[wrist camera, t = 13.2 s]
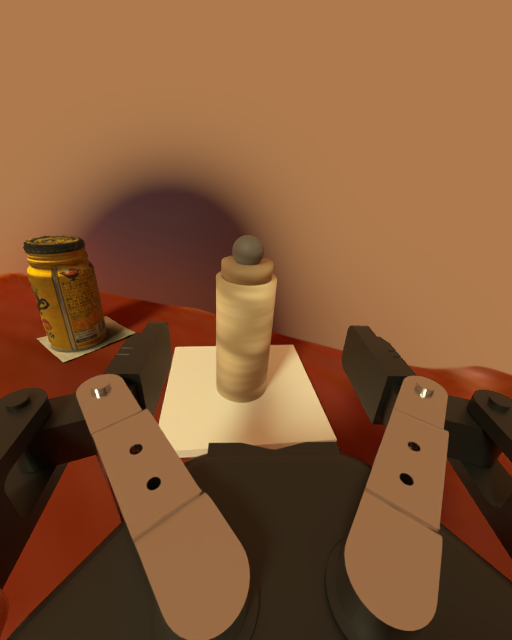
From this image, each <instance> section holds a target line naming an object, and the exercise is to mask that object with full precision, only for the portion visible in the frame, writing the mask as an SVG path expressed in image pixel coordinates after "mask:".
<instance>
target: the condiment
mask: <svg viewBox="0 0 512 640" xmlns="http://www.w3.org/2000/svg"><path fill="white" fill-rule="evenodd" d="M23 248H24V250H25V252H26V254H27V261H28V262H29V263H30V266H29V267H28V269H27V273H28V277H29V278H28V279H29V281H30V283H31V287H32V290H33V293H34V296H35V299H36V302H37V307H38V310H39V312H40V315H41V318H42V321H43V325H44V328H45V330H46V334H47V336H45V337H41V338H37V339H38V340H39V341H40V342H41V343H42V344H43V345H44V346H45V347H46V348H47V349H48V350H49V351H51V352H52V353H53V354H54V355H55V356H56V357H58V358H59V359H60V360H61V361H62V362H66V361H68V360H71V359H74V358H76V357H79V356H82V355H84V354H86V353H90V352H92V351H94V350H96V349H99V348H101V347H103V346H106V345H107V344H109V343H113V342H115V341H117V340H121V339H123V338H125V337H127V336H128V335H132V334H134V333H135V332H134V331H131V330H129V329H127V328H126V327H123V326H122V325H120V324H118V323H117V322H115V321H114V320H112V319H111V318H109V317H107V316H105V317H104V315H103V310H102V305H101V300H100V296H99V291H98V286H97V281H96V276H95V271H94V267H93V265H92V264H91V262H90V261H89V260H88V259H87V257H88V254H87V252H86V251H85V243H84V241H83V240H82V239H81V238H79V237H74V236H43V237H37V238H32V239H29V240H26V242H24V247H23ZM107 340H108V341H107Z"/></svg>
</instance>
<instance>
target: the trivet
mask: <svg viewBox="0 0 512 640" xmlns="http://www.w3.org/2000/svg"><path fill="white" fill-rule="evenodd" d="M159 427H160V428H161V430H162V431H163V433H164V434H165V436H166V438H167V439H168V441H169V442H170V444H171V445H172V447H173V448H174V450H175V451H176V453H177V454H178V456H179V458H184V457H197V456H200V455H203V454H207V453H208V445H209V443H245V444H250V445H254V446H259V447H263V448H268V449H280V448H284V447H288V446H292V445H296V444H300V443H304V442H336V440H337V439H336V437H335V434H334V432H333V430H332V428H331V426H330V424H329V421H328V419H327V417H326V415H325V413H324V411H323V408H322V406H321V404H320V402H319V400H318V398H317V395H316V393H315V391H314V389H313V387H312V385H311V382H310V380H309V378H308V376H307V374H306V372H305V369H304V367H303V365H302V363H301V361H300V359H299V356H298V354H297V352H296V350H295V348H294V345H270V352H269V362H268V372H267V382H266V390H265V392H264V394H263V395H262V396H261V397H260V398H258V399H257V400H254V401H251V402H246V403H237V402H232V401H229V400H227V399H225V398H223V397H222V396H221V395H220V394H219V393H218V391H217V387H216V346H204V347H175V352H174V357H173V361H172V366H171V370H170V375H169V380H168V384H167V389H166V394H165V398H164V403H163V407H162V412H161V417H160V421H159Z"/></svg>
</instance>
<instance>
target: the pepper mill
mask: <svg viewBox="0 0 512 640" xmlns="http://www.w3.org/2000/svg"><path fill="white" fill-rule="evenodd" d="M232 253H233V256H229V257H226V258H223V259H222V271H220V272H219V273H218V274H217V275H216V387H217V391H218V393H219V394H220V395H221V396H222V397H223V398H225V399H227V400H229V401H232V402H237V403H246V402H251V401H254V400H257V399H258V398H260V397H261V396H262V395H263V394H264V392H265V390H266V382H267V372H268V362H269V352H270V343H271V333H272V323H273V313H274V304H275V294H276V284H277V277H276V276H275V275H273V274H272V273H273V262H272V261H270V260H268V259H266V258H263V255H264V248H263V245H262V243H261V242H260V240H259V239H257V238H256V237H254V236H251V235H245V236H242V237H240V238H239V239H238V240H237V241H236V242H235V243H234V245H233V250H232Z"/></svg>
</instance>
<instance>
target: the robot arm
mask: <svg viewBox="0 0 512 640" xmlns="http://www.w3.org/2000/svg"><path fill="white" fill-rule="evenodd" d="M171 360H172V352H171V344H170V335H169V327H168V323H167V322H148V324H147V325H146V327H145V329H144V330H143V332H142V333H135V334H134V335H132V336H131V337H129V338H128V339H126V341H125V342H124V344H123V345H122V347H121V349H120V350H119V351H118V352H117V355H115V357H114V358H113V360H112V361H111V363H110V364H109V366H108V367H107V369H106V370H105V372H104V373H103V375H99V376H96V377H93V378H91V379H89V380H87V381H85V382H84V383H83V384H81V386H80V387H79V388H78V389H77V392H76V393H75V394H71V395H66V396H61V397H56V398H51V399H48V396H47V394H46V392H45V391H44V390H42V389H39V388H27V389H22V390H18V391H16V392H13V393H10V394H8V395H6V396H4V397H3V398H1V399H0V637H1V633H2V631H3V628H4V625H5V622H6V620H7V616H8V611H9V602H8V598H7V596H6V594H5V593H4V592H3V591H2V589H3V587H4V585H5V583H6V581H7V579H8V577H9V575H10V573H11V571H12V570H13V568H14V566H15V564H16V562H17V560H18V558H19V556H20V554H21V552H22V550H23V548H24V547H25V545H26V543H27V541H28V539H29V537H30V535H31V533H32V531H33V529H34V527H35V525H36V524H37V522H38V520H39V518H40V516H41V514H42V512H43V510H44V508H45V506H46V504H47V502H48V501H49V499H50V497H51V495H52V493H53V491H54V489H55V487H56V485H57V483H58V481H59V479H60V478H61V476H62V474H63V472H64V470H65V468H66V466H67V464H68V462H71V461H75V460H78V459H82V458H86V457H89V456H93V455H96V456H97V459H98V461H99V464H100V467H101V469H102V472H103V475H104V477H105V480H106V483H107V485H108V488H109V491H110V493H111V496H112V499H113V502H114V504H115V507H116V510H117V513H118V516H119V519H120V521H121V523H120V524H119V525H118V526H117V527H116V528H115V529H114V530H113V531H112V532H111V533H110V534H109V535H108V536H107V537H106V538H105V539H104V540H103V541H102V542H101V543H100V544H99V545H98V546H97V547H96V548H95V549H94V550H93V551H92V552H91V553H90V554H89V555H88V556H87V557H86V558H85V559H84V560H83V561H82V562H81V563H80V564H79V565H78V566H77V567H76V568H75V569H74V570H73V571H72V572H71V573H70V574H69V575H68V576H67V577H66V578H65V579H64V580H63V581H62V582H61V583H60V584H59V585H58V586H57V587H56V588H55V589H54V590H53V591H52V592H51V593H50V594H49V595H48V596H47V597H46V598H45V599H44V600H43V601H42V602H41V603H40V604H39V605H38V606H37V607H36V608H35V609H34V610H33V611H32V612H31V613H30V614H29V615H28V616H27V617H26V618H25V619H24V620H23V622H22V623H21V624H20V625H19V626H18V627H17V628H16V629H15V630H14V632H13V633H12V634H11V635H10V636H9V638H8V639H7V640H512V582H511V581H510V580H509V579H508V578H506V577H505V576H504V575H503V574H502V573H500V572H499V571H498V570H497V569H496V568H494V567H493V566H492V565H491V564H489V563H488V562H487V561H486V560H485V559H483V558H482V557H481V556H480V555H479V554H477V553H476V552H475V551H474V550H472V549H471V548H470V547H469V546H468V545H466V544H465V543H464V542H463V541H462V540H460V539H459V538H458V537H457V536H456V535H454V534H453V533H452V532H451V531H449V530H448V529H447V528H446V527H445V526H443V525H442V524H441V523H440V517H441V507H442V497H443V487H444V478H445V468H446V458H447V459H448V461H449V462H450V464H451V465H452V467H453V468H454V470H455V472H456V473H457V475H458V476H459V478H460V479H461V481H462V482H463V484H464V486H465V487H466V489H467V490H468V492H469V493H470V495H471V496H472V498H473V500H474V501H475V503H476V504H477V506H478V507H479V509H480V510H481V512H482V514H483V515H484V517H485V518H486V520H487V521H488V523H489V524H490V526H491V528H492V529H493V531H494V532H495V534H496V535H497V537H498V538H499V540H500V542H501V543H502V545H503V546H504V548H505V549H506V551H507V552H508V554H509V556H510V557H511V559H512V477H511V476H510V475H509V474H508V472H507V471H506V470H505V469H504V467H503V466H502V465H501V464H500V463H499V461H498V460H497V458H498V457H499V455H500V454H501V453H502V452H503V453H504V454H505V455H506V456H507V457H508V459H509V460H510V461H511V462H512V399H510V398H508V397H506V396H504V395H502V394H500V393H497V392H493V391H489V390H478V391H475V392H474V394H473V396H472V398H471V400H467V399H462V398H458V397H453V396H449V395H447V392H446V391H445V389H444V388H443V387H442V386H441V385H439V384H438V383H436V382H435V381H433V380H430V379H428V378H425V377H421V376H417V375H416V374H415V373H414V372H413V371H412V369H411V368H410V367H409V366H408V365H407V364H406V362H405V361H404V360H403V359H402V358H401V356H400V355H399V354H398V353H397V352H396V351H395V349H394V348H393V347H392V346H391V344H390V343H388V342H387V341H385V340H383V339H382V338H381V337H377V336H376V335H375V334H374V333H373V331H372V330H371V329H370V328H369V327H368V326H350V327H349V328H348V331H347V336H346V340H345V345H344V349H343V353H342V365H343V368H344V370H345V372H346V374H347V376H348V378H349V380H350V382H351V384H352V386H353V388H354V390H355V392H356V394H357V396H358V398H359V400H360V402H361V404H362V405H363V407H364V409H365V411H366V413H367V415H368V417H369V419H370V421H371V423H372V424H384V425H385V427H386V429H385V432H384V435H383V438H382V440H381V443H380V446H379V449H378V451H377V454H376V457H375V460H374V463H373V465H372V467H371V466H370V465H368V464H367V463H365V462H363V461H361V460H360V459H357V458H355V457H353V456H350V455H347V454H344V453H340V451H339V448H338V445H337V442H304V443H300V444H296V445H292V446H288V447H284V448H280V449H268V448H263V447H259V446H254V445H250V444H245V443H209V445H208V453H207V454H203V455H200V456H197V457H195V458H193V459H191V460H189V461H187V462H185V463H183V462H182V461H181V459H180V458H179V456H178V454H177V453H176V451H175V450H174V448H173V447H172V445H171V444H170V442H169V441H168V439H167V438H166V436H165V434H164V433H163V431H162V430H161V428H160V427H159V425H158V424H157V422H156V421H155V419H154V417H153V413H154V410H155V407H156V405H157V402H158V399H159V396H160V394H161V391H162V388H163V385H164V383H165V380H166V377H167V374H168V372H169V369H170V366H171Z"/></svg>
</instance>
